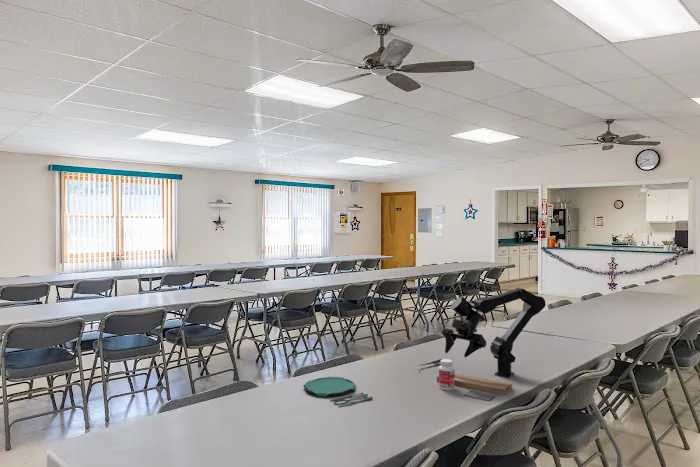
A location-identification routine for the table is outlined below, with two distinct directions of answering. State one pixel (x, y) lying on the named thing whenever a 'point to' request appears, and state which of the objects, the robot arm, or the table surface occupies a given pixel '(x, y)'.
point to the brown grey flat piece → (481, 386)
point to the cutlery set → (334, 389)
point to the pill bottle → (446, 375)
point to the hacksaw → (432, 365)
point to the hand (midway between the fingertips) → (455, 354)
